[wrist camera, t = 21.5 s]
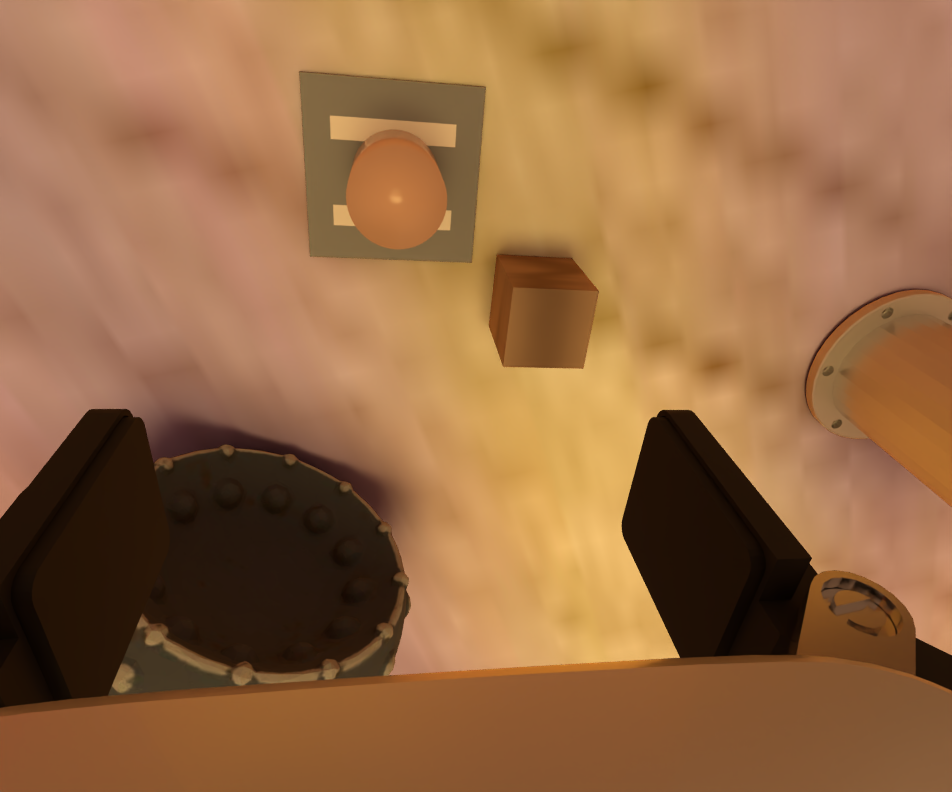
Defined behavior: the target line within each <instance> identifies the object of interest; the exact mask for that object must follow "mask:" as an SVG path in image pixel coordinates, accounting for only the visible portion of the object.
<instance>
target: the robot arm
mask: <svg viewBox="0 0 952 792" xmlns="http://www.w3.org/2000/svg"><path fill="white" fill-rule="evenodd" d="M806 398H807V403H808V407H809V409H810V411H811V413H812V415H813V416H814V418H815V419H816V420H817V421H818V422H819V423H820V424H821V425H822V426H824V427H825V428H826V429H827V430H828V431H830V432H832V433H834V434H836V435H838V436H841V437H846V438H851V439H867V438H870V439H871V440H872V441H873V442H875V443H876V444H877V445H878V446H879V447H881V448H882V449H883V450H884V451H885V452H887V453H888V454H889V455H890V456H891V457H893V458H894V459H895V460H896V461H897V462H898V463H900V464H901V465H902V466H903V467H904V468H906V469H907V470H908V471H909V472H910V473H912V474H913V475H914V476H915V477H916V478H917V479H919V480H920V481H921V482H922V483H923V484H925V485H926V486H927V487H928V488H929V489H931V490H932V491H933V492H934V493H935V494H936V495H938V496H939V497H940V498H941V499H942V500H944V501H945V502H946V503H947V504H948V505H950V506H951V507H952V299H951V298H949V297H947V296H945V295H943V294H941V293H937V292H933V291H930V290H908V291H902V292H897V293H894V294H891V295H888V296H885V297H882V298H880V299H878V300H876V301H874V302H872V303H870V304H868V305H866V306H864V307H863V308H861V309H860V310H858V311H857V312H855V313H854V314H852V315H851V316H850V317H849V318H848V319H846V320H845V321H844V322H843V323H842V324H841V325H840V326H838V327H837V328H836V330H835V331H834V332H833V333H832V334H831V335H830V336H829V338H828V339H827V340H826V341H825V342H824V344H823V346H822V347H821V349H820V350H819V352H818V353H817V355H816V357H815V359H814V361H813V363H812V366H811V368H810V371H809V375H808V379H807V383H806ZM622 533H623V537H624V540H625V542H626V544H627V546H628V548H629V550H630V552H631V554H632V557H633V559H634V561H635V563H636V565H637V567H638V569H639V571H640V574H641V576H642V578H643V580H644V582H645V584H646V586H647V588H648V591H649V593H650V595H651V597H652V599H653V601H654V603H655V605H656V608H657V610H658V612H659V614H660V616H661V618H662V620H663V622H664V624H665V627H666V629H667V631H668V633H669V635H670V637H671V639H672V641H673V644H674V646H675V648H676V650H677V652H678V654H679V656H680V658H668V659H651V660H634V661H617V662H599V663H582V664H565V665H548V666H531V667H515V668H499V669H483V670H467V671H451V672H435V673H420V674H405V675H389V676H374V677H358V678H343V679H329V680H314V681H300V682H285V683H271V684H257V685H242V686H228V687H213V688H199V689H185V690H172V691H161V692H149V693H137V694H125V695H113V696H108V694H109V692H110V689H111V687H112V685H113V682H114V680H115V677H116V675H117V673H118V670H119V668H120V665H121V663H122V661H123V658H124V656H125V654H126V651H127V649H128V646H129V644H130V642H131V639H132V637H133V634H134V632H135V630H136V627H137V625H138V622H139V620H140V618H141V615H142V613H143V611H144V608H145V606H146V603H147V601H148V599H149V596H150V594H151V591H152V589H153V587H154V584H155V582H156V580H157V577H158V575H159V572H160V570H161V568H162V565H163V563H164V560H165V558H166V556H167V553H168V550H169V545H170V533H169V528H168V523H167V519H166V515H165V510H164V506H163V502H162V498H161V493H160V489H159V485H158V480H157V476H156V472H155V468H154V463H153V459H152V455H151V450H150V446H149V442H148V437H147V433H146V429H145V425H144V422H143V420H142V419H141V418H140V417H133V415H132V414H131V412H130V411H129V410H127V409H91V410H89V411H88V412H87V413H86V414H85V415H84V416H83V418H82V419H81V420H80V421H79V423H78V424H77V425H76V426H75V428H74V429H73V430H72V432H71V433H70V434H69V435H68V437H67V438H66V439H65V440H64V442H63V443H62V444H61V445H60V447H59V448H58V449H57V451H56V452H55V453H54V454H53V456H52V457H51V458H50V459H49V461H48V462H47V463H46V465H45V466H44V467H43V468H42V470H41V471H40V472H39V473H38V475H37V476H36V477H35V478H34V480H33V481H32V482H31V484H30V485H29V486H28V487H27V488H26V489H25V490H24V491H23V492H22V493H21V494H20V495H19V496H18V497H17V499H16V500H15V501H14V502H13V504H12V505H11V506H10V507H9V509H8V510H7V511H6V512H5V514H4V515H3V516H2V517H1V519H0V792H952V655H950V654H948V653H946V652H944V651H941V650H939V649H937V648H935V647H933V646H931V645H929V644H927V643H925V642H923V641H921V640H919V639H917V638H916V629H915V625H914V621H913V618H912V616H911V615H910V613H909V611H908V610H907V608H906V607H905V606H904V605H903V604H902V603H901V602H900V601H899V600H898V599H897V598H896V597H895V596H894V595H893V594H892V593H890V592H889V591H888V590H886V589H885V588H883V587H882V586H881V585H879V584H877V583H875V582H873V581H871V580H869V579H867V578H865V577H862V576H859V575H856V574H853V573H850V572H844V571H837V570H833V571H825V572H822V573H820V574H817V572H816V571H815V570H814V569H813V567H812V566H811V565H810V564H809V563H810V561H811V559H812V557H811V556H810V555H809V554H808V553H807V551H806V550H805V549H804V548H803V546H802V545H801V544H800V543H799V541H798V540H797V539H796V538H795V537H794V535H793V534H792V533H791V532H790V530H789V529H788V528H787V527H786V525H785V524H784V523H783V522H782V520H781V519H780V518H779V517H778V516H777V514H776V513H775V512H774V511H773V509H772V508H771V507H770V506H769V504H768V503H767V502H766V501H765V500H764V498H763V497H762V496H761V495H760V493H759V492H758V491H757V490H756V488H755V487H754V486H753V485H752V484H751V482H750V481H749V480H748V479H747V477H746V476H745V475H744V474H743V472H742V471H741V470H740V469H739V468H738V466H737V465H736V464H735V463H734V461H733V460H732V459H731V458H730V456H729V455H728V454H727V453H726V452H725V450H724V449H723V448H722V447H721V445H720V444H719V443H718V442H717V440H716V439H715V438H714V437H713V436H712V434H711V433H710V432H709V431H708V429H707V428H706V427H705V426H704V424H703V423H702V422H701V421H700V419H699V418H698V417H697V416H696V415H695V413H693V412H692V411H690V410H662V411H660V412H659V413H658V415H657V417H653V418H651V419H650V420H649V423H648V426H647V429H646V433H645V437H644V440H643V444H642V448H641V452H640V455H639V459H638V463H637V467H636V470H635V474H634V478H633V481H632V485H631V489H630V493H629V496H628V500H627V504H626V508H625V511H624V515H623V519H622Z"/></svg>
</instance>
